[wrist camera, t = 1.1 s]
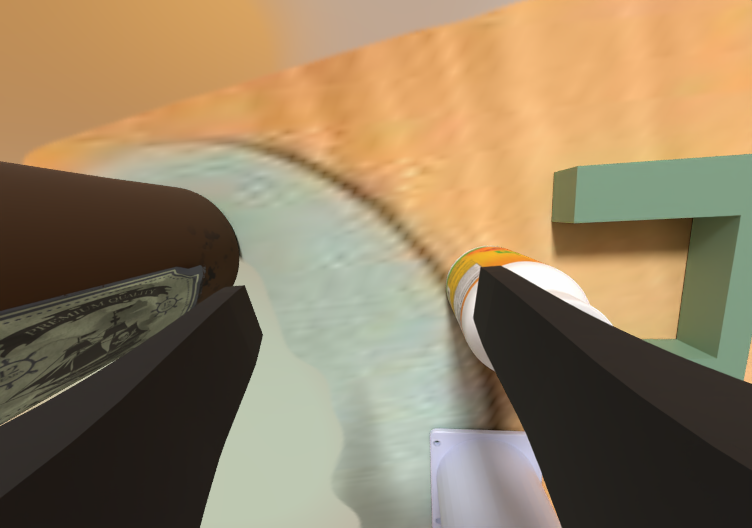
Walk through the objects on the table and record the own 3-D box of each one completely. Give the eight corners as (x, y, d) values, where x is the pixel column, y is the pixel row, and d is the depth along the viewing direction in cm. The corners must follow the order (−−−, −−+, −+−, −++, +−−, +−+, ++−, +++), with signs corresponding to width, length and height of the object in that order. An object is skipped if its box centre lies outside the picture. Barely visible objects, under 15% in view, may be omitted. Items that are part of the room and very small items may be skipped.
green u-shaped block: (695, 381, 19) (738, 406, 16) (543, 379, 20) (562, 402, 18) (730, 160, 16) (786, 151, 14) (554, 172, 18) (577, 166, 15)
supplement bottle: (543, 268, 19) (682, 327, 9) (499, 335, 20) (582, 448, 10) (470, 230, 19) (533, 250, 9) (430, 299, 20) (449, 379, 10)
